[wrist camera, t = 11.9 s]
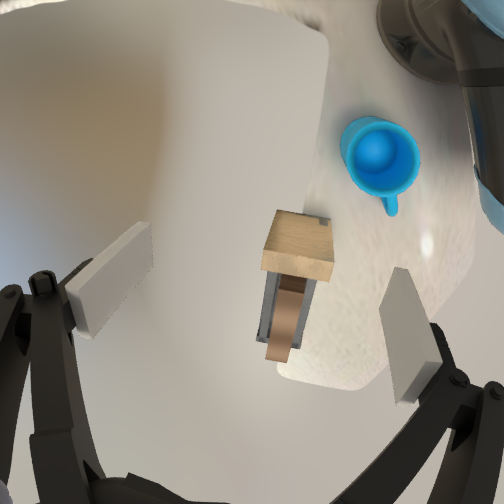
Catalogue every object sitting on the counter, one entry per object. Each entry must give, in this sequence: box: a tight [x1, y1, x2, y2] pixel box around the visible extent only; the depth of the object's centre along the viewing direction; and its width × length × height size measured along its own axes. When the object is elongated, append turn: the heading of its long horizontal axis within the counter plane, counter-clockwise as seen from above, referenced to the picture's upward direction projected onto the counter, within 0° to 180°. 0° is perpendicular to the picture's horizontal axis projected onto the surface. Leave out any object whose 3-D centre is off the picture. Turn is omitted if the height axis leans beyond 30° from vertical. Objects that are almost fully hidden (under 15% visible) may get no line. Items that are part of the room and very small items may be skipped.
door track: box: [256, 210, 334, 349], centre depth 43 cm, size 22×7×12 cm, turn 174°
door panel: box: [265, 274, 306, 363], centre depth 43 cm, size 12×3×10 cm, turn 174°
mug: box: [340, 117, 420, 217], centre depth 34 cm, size 12×8×8 cm
